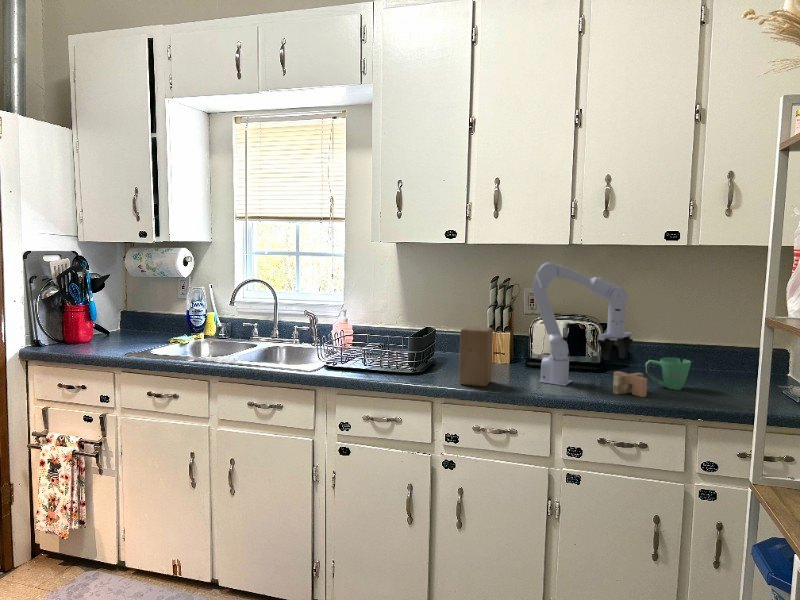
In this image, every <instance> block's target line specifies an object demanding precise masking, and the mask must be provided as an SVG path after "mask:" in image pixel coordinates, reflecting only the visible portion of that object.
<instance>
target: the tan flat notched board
mask: <svg viewBox="0 0 800 600" xmlns="http://www.w3.org/2000/svg"><path fill="white" fill-rule="evenodd" d="M631 374H632V373H627V372H624V371H619V370H618V371H617V370H616V371H613V380H612V386H613V385H614V376H616V375H626V376H627V383H628V384H632V392H631V395H634V396H636V397H641V398H645V397H647V394H648V391H647V390H648V378H647V377H644V376H643V377H639V376H635V375H631Z"/></svg>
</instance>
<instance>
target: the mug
mask: <svg viewBox="0 0 800 600" xmlns="http://www.w3.org/2000/svg"><path fill="white" fill-rule="evenodd" d="M650 364H651V365H656V366H659V367H660V368H661V373H662V374H661V375H662V378H663V381H662V380H660V379H658V378H656V376H654V375H653V373H651V371H650V370H649V366H650ZM691 365H692V361H691V360H689V359H682V361H681V358H677V357H662V358H660V361H658V360H655V359H654V360H653V359H648V361H646V362H645V372H646V374H647V375H648V376H649V377H650V378H651V379H652V380H653V381H654V382H656V384H660V385H662V386H664V387H666V388H667V389H668V390H669V389H670V390H672V389H673V390H675V391H680V390H681V391H682V388H683V387H684V385H685V383H686V380H687V379H688V375H689V372H690V368H691Z"/></svg>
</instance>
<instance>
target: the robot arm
mask: <svg viewBox="0 0 800 600" xmlns="http://www.w3.org/2000/svg"><path fill="white" fill-rule="evenodd" d="M556 277H557V279H569V280H571V281H573V282H576V283H578V284H581V285H583V286H584V287H585V286H586V287H587V291H588V292H590V293H592V294H594V295H596V296H598V297H601V299H605V300H606V299H607V300H609V303H608V305H609V306H608V309H607V327H606V332H604V333H599V334H598V338H597V343H598V345H599V346H600V350H601V353H602V357H603V360H604V361H611V353H612V349H613V345H614V343H615V342H614V341H611V340H616V341H617V345H618V358H619V359H624V360H626V357H627V354H628V351H629V349H630V346H631V344H633V343H634V342H633V341H634V340H633V332H630V331H626V329H625V328H626V312H627V310H626V305H627V304H626V302H627V300H628V298H629V297H628V294H627V291H626V290H625V289H624V288H622V287H621V286H618V285H617V284H616V283H610V282H609V281H606V280H604V278H603V277H601V276H599V277H597V276H594V277H591V278H590V277H588V276H586V275H584V274H582V273H579V272H578V271H576V270H574V269H571V268H569V267H567V266H563V265H560V264H555V263H553V262H551V261H546V262H544V263H542V264H541V265H540V267H539V268H538V269H537V272H536V273H535V277H534V281H533V283H532V288H531V290H532V293H533V296H534V299H535V302H536V306H537V307H538V310H539V314H540V316H541V320H542V323H543V325H544V327H545V331H546V334H547V337H548V341H549V345H550V347H549V348H550V350H549V352H550V354H549V355H548V356H544V357H542V359H541V363H540V380H539V382H540V383H545V384H551V385H558V386H565V387H566V386H567V385H569V384H570V383H571V382H572V380H571V379H569V371H570V370H569V369H570V367H569V365H570V357H569V356H568V355H569V352H570V351H569V344H568V342H567V341H566V340H565V339H564V338H563V336H562V333H561V330H560V328H559V324H558V323H557V319H556V316H555V313H554V310H553V308H552V305H551V302H550V299H549V296H548V293H547V289H548V286H549V285H550V283H551V282H552V281H553V280H554V279H556Z"/></svg>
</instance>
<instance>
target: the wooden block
mask: <svg viewBox="0 0 800 600" xmlns="http://www.w3.org/2000/svg"><path fill="white" fill-rule="evenodd" d="M493 331H494V330H493V328H492V327H487V326H471V325H467V326H465V327H464V328H462V329H460V332H459V333H460V334H459V366H458V367H459V368H458V369H459V370H458V374H459V375H458V382H459V384H460V385H462V384H463V385H462V386H471V385H472V387H482V388H484V387H487V386H488V385H489V383H491V381H492V370H493V369H492V368H493V364H492V363H493V336H494V335H493V334H494V332H493Z"/></svg>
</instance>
